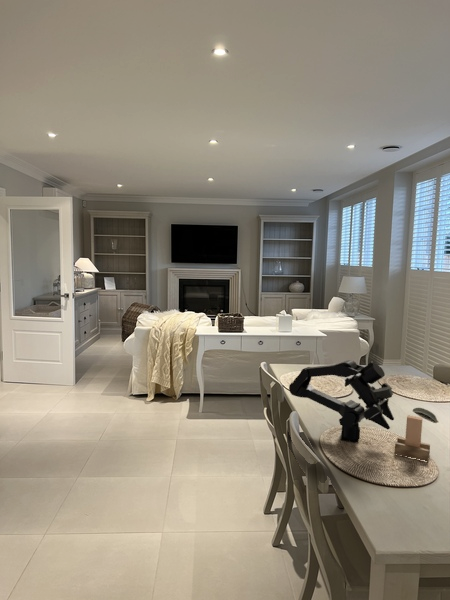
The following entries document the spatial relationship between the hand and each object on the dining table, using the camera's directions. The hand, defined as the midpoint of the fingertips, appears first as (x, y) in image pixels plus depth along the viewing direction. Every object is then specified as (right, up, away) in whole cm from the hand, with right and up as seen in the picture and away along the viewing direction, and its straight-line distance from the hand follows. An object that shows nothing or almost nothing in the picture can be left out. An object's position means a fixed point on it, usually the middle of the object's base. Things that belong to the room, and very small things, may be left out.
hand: (391, 424), depth 155 cm
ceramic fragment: (+29, -7, +34) cm, 45 cm away
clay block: (+6, -9, -3) cm, 12 cm away
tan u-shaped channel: (+6, -10, -3) cm, 12 cm away
